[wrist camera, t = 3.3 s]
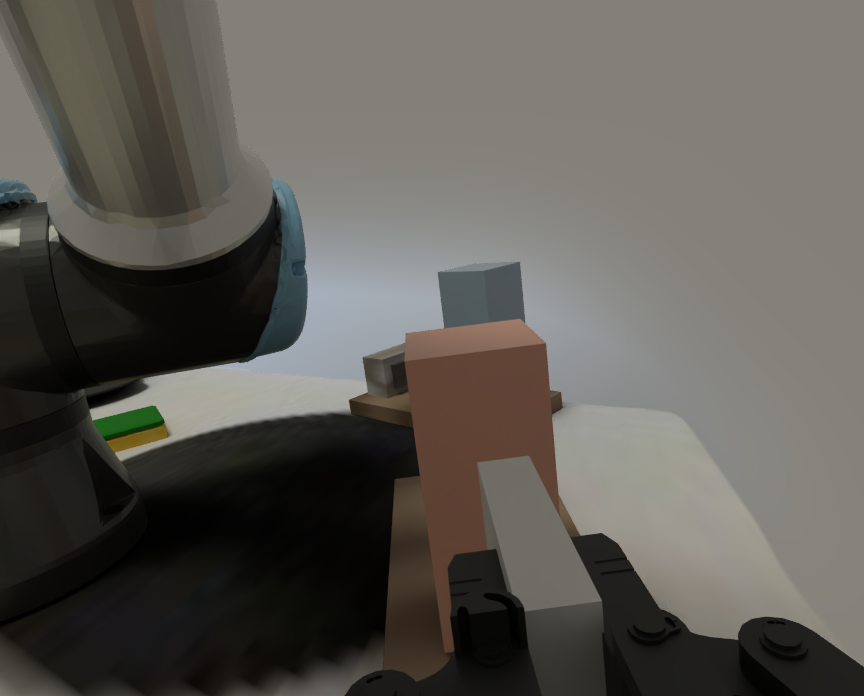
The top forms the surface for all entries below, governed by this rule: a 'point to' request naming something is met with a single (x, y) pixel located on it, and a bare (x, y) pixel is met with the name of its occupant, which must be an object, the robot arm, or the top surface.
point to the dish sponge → (132, 428)
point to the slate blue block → (481, 294)
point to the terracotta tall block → (474, 428)
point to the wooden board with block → (404, 408)
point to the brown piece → (417, 587)
